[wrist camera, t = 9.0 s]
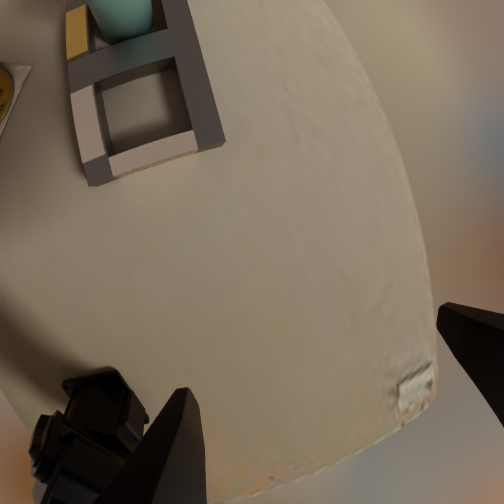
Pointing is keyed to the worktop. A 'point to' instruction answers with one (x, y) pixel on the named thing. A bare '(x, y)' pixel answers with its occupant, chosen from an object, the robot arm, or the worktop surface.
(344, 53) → the worktop surface
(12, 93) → the condiment
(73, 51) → the socket plate
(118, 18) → the plug
